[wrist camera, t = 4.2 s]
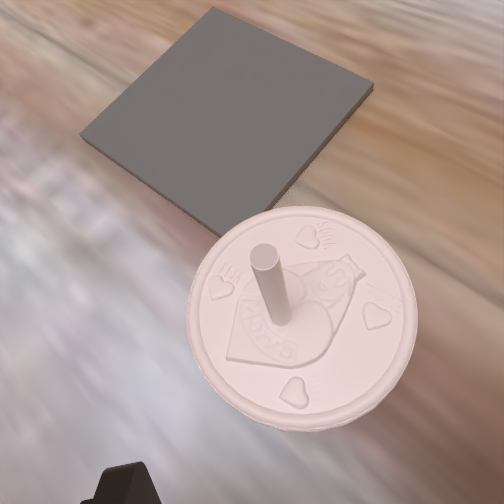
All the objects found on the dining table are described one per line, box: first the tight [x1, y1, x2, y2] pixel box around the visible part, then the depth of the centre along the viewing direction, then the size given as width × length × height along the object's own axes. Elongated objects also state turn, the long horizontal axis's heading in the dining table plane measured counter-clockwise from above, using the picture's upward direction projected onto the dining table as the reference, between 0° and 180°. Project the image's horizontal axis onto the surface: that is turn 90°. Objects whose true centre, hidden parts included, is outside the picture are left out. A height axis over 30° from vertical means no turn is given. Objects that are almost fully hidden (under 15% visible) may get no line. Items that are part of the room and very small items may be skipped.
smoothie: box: [187, 206, 418, 432], centre depth 14 cm, size 6×6×14 cm
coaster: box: [79, 7, 374, 238], centre depth 27 cm, size 13×13×1 cm
